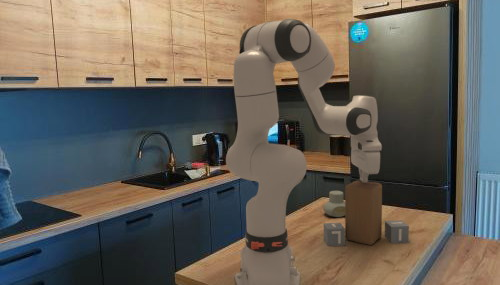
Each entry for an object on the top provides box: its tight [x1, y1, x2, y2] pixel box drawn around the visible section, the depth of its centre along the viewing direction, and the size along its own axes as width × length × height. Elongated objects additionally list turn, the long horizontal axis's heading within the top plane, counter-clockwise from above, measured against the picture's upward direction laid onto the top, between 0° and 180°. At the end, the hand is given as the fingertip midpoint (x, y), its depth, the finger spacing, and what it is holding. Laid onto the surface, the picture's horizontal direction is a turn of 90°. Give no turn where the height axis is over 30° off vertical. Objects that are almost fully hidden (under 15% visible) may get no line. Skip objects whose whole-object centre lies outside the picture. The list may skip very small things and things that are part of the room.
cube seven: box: [323, 222, 346, 247], centre depth 134 cm, size 6×6×6 cm
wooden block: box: [344, 179, 383, 246], centre depth 135 cm, size 10×10×20 cm
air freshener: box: [322, 190, 345, 218], centre depth 162 cm, size 11×8×10 cm
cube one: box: [384, 219, 410, 244], centre depth 134 cm, size 6×6×6 cm
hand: (363, 181), depth 134 cm, fingers closed
